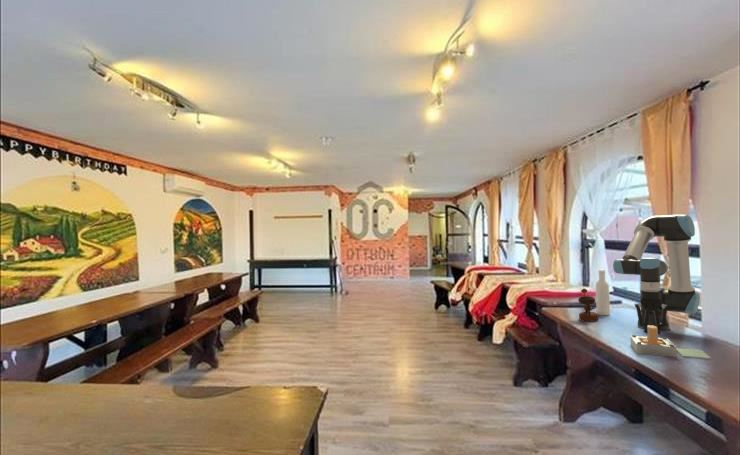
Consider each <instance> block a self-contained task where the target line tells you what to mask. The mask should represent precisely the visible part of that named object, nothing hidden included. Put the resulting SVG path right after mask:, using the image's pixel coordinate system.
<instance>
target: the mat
mask: <svg viewBox="0 0 740 455" xmlns="http://www.w3.org/2000/svg"><path fill="white" fill-rule="evenodd" d="M676 351H677V353H678V354H679V355H680V356H681V357H682V358H691V359H700V360H701V359H703V360H712V357H710V356H709V355H708V354H707V353H706V352H705V351H703V350H702V349H692V348H691V349H690V348H679V347H676Z"/></svg>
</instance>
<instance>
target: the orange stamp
mask: <svg viewBox="0 0 740 455" xmlns="http://www.w3.org/2000/svg"><path fill="white" fill-rule="evenodd" d="M648 326H649V328H650V341H648V340H647V339H644V340H642V343H650V344H662V345H663V342H661V341H658V342H657V328H655V327H654V326H653V325H648Z"/></svg>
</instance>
